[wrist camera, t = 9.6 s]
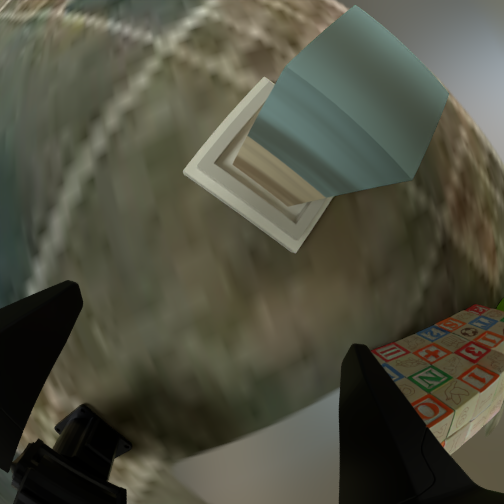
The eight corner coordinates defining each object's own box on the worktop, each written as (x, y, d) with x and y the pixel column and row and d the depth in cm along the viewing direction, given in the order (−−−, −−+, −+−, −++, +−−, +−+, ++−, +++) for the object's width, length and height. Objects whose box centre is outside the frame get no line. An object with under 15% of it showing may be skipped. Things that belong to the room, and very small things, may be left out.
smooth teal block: (287, 206, 20) (412, 180, 7) (232, 164, 19) (285, 66, 6) (323, 156, 20) (449, 93, 8) (272, 115, 19) (355, 4, 7)
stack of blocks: (475, 301, 27) (547, 322, 15) (470, 344, 28) (534, 372, 16) (341, 359, 24) (425, 433, 12) (341, 409, 24) (406, 484, 12)
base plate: (290, 252, 22) (300, 254, 19) (183, 174, 20) (181, 168, 18) (353, 156, 22) (367, 150, 20) (260, 83, 20) (267, 70, 18)
